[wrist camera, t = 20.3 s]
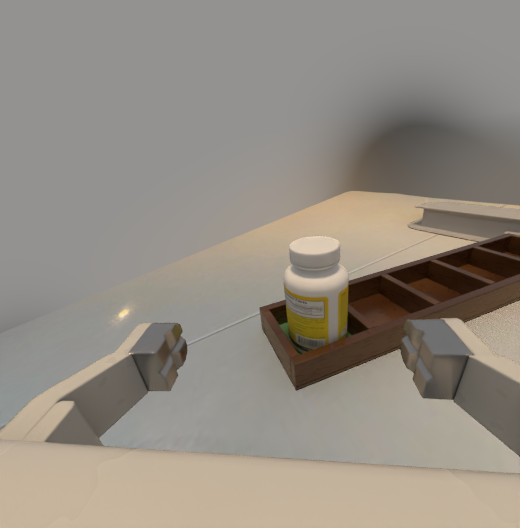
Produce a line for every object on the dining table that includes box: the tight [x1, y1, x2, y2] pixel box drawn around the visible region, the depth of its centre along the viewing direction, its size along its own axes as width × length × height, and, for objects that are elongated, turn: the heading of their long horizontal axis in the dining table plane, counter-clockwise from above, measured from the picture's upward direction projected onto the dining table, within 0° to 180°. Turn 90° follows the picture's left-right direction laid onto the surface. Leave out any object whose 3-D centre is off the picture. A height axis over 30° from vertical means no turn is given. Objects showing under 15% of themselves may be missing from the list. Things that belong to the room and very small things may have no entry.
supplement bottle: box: [284, 236, 349, 353], centre depth 22 cm, size 5×5×10 cm
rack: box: [260, 233, 520, 390], centre depth 27 cm, size 8×38×3 cm, turn 109°
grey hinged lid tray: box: [408, 202, 520, 242], centre depth 43 cm, size 15×23×4 cm, turn 31°
